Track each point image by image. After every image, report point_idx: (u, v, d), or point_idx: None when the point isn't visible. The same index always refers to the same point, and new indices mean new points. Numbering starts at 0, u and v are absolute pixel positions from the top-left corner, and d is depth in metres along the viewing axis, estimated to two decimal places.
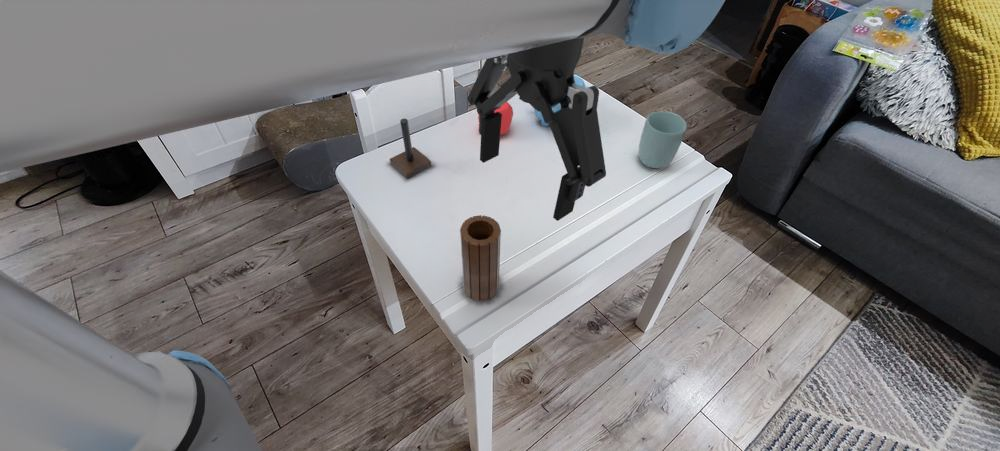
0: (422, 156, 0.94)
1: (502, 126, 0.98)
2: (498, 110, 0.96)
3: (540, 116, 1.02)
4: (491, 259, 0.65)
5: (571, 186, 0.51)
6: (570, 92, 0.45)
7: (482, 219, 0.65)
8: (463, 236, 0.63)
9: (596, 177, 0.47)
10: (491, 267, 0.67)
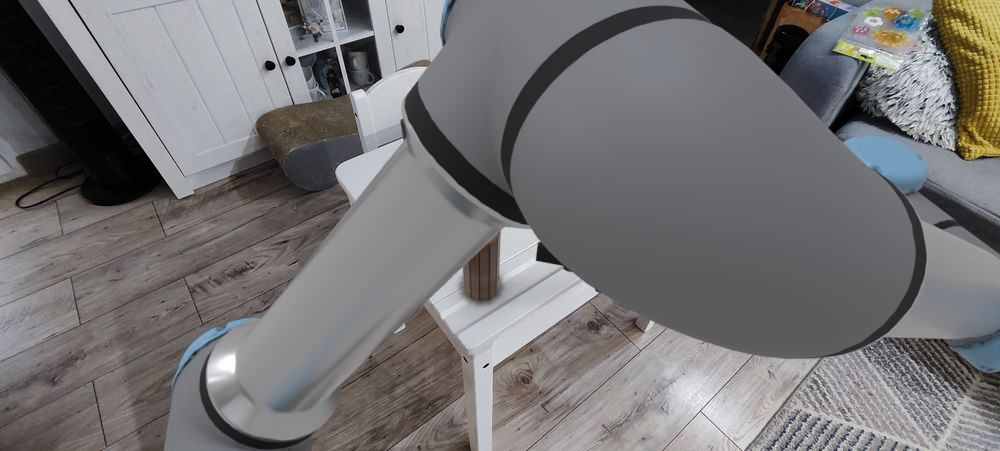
0: None
1: None
2: None
3: None
4: (491, 259, 0.65)
5: None
6: None
7: None
8: None
9: None
10: (491, 267, 0.67)
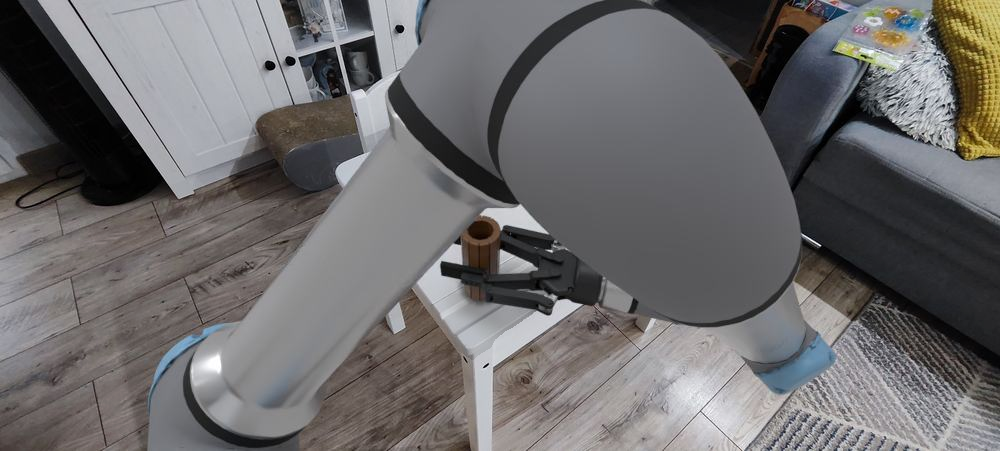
0: None
1: None
2: None
3: None
4: (491, 259, 0.65)
5: (474, 276, 0.66)
6: (553, 297, 0.64)
7: (482, 219, 0.65)
8: (463, 236, 0.63)
9: (488, 296, 0.64)
10: (491, 267, 0.67)
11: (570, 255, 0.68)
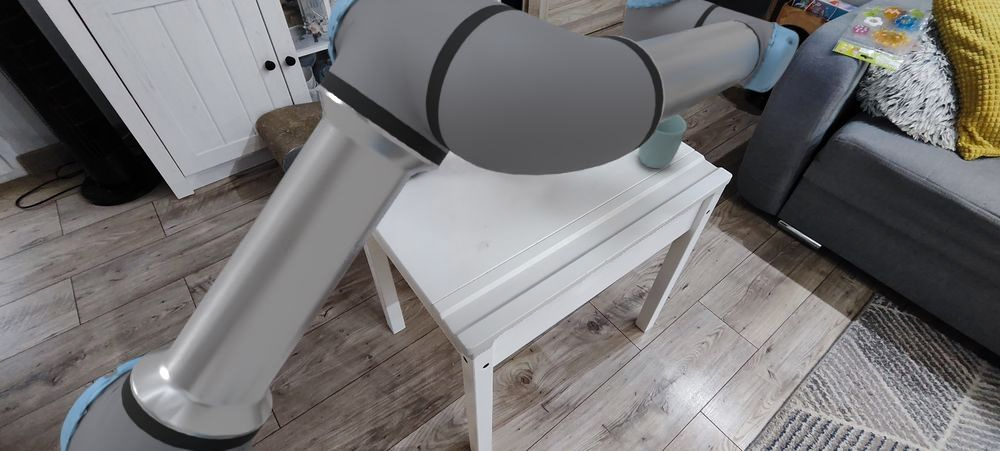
0: None
1: None
2: None
3: None
4: None
5: None
6: None
7: None
8: None
9: None
10: None
11: None
